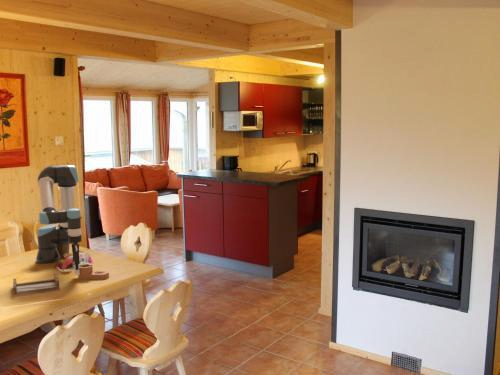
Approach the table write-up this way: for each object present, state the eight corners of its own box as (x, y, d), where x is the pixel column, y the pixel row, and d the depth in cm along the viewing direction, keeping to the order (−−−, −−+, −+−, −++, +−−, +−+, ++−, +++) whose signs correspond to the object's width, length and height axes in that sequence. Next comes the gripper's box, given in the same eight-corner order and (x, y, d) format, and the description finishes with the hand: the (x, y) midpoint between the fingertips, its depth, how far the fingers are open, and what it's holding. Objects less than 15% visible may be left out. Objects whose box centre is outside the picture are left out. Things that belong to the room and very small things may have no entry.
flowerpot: (74, 252, 356) (72, 210, 352) (68, 257, 342) (66, 214, 338) (54, 252, 355) (51, 211, 351) (47, 257, 341) (44, 214, 337)
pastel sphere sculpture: (49, 266, 323) (49, 252, 322) (84, 259, 338) (84, 246, 337) (64, 274, 304) (63, 260, 303) (100, 267, 320) (100, 253, 318)
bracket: (76, 279, 293) (75, 267, 293) (81, 274, 302) (80, 263, 301) (106, 279, 293) (106, 267, 292) (110, 274, 301) (110, 263, 301)
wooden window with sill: (13, 286, 281) (13, 278, 280) (57, 281, 290) (56, 273, 290) (13, 296, 265) (13, 287, 265) (59, 289, 275) (59, 281, 274)
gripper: (66, 232, 298) (68, 270, 301) (69, 239, 282) (71, 278, 286) (79, 231, 301) (81, 268, 305) (83, 237, 286) (85, 276, 289)
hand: (76, 273), depth 295 cm, fingers closed on bracket, 5 cm apart
